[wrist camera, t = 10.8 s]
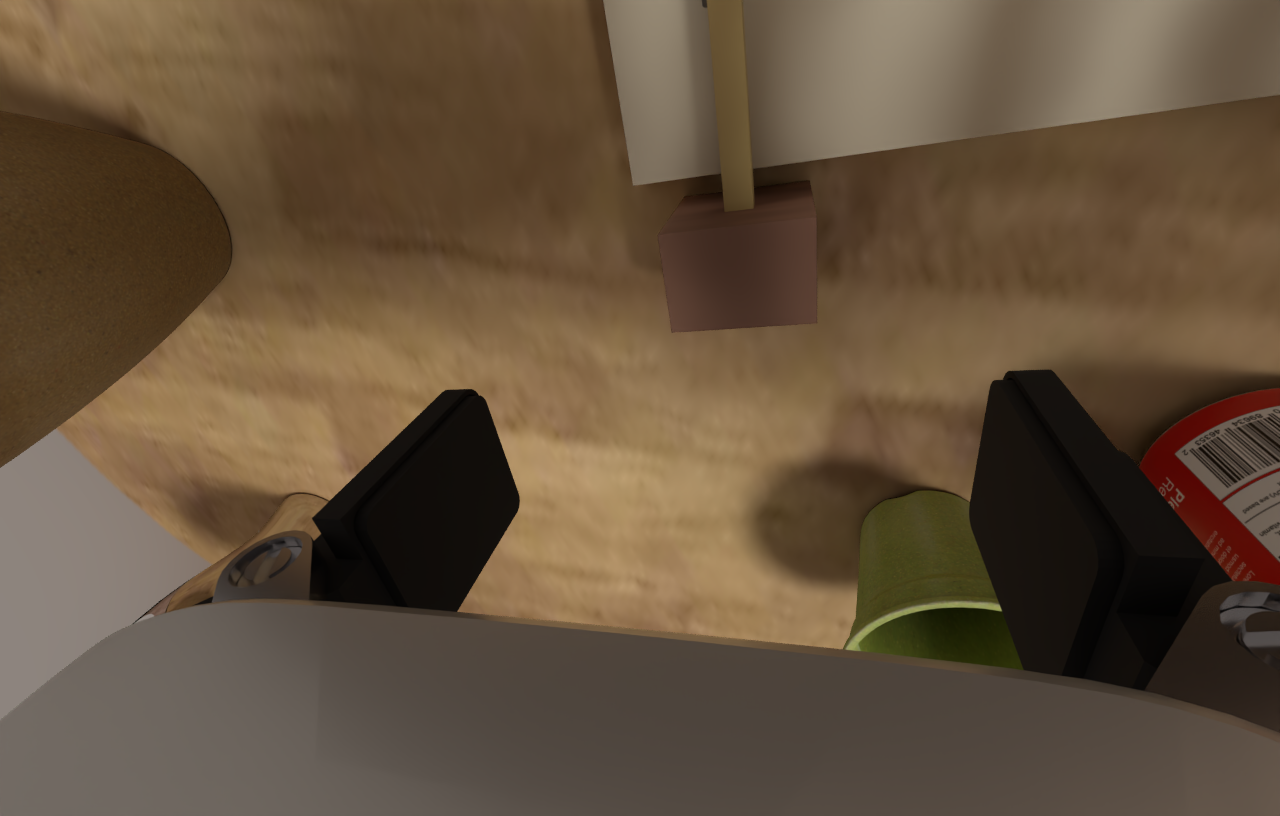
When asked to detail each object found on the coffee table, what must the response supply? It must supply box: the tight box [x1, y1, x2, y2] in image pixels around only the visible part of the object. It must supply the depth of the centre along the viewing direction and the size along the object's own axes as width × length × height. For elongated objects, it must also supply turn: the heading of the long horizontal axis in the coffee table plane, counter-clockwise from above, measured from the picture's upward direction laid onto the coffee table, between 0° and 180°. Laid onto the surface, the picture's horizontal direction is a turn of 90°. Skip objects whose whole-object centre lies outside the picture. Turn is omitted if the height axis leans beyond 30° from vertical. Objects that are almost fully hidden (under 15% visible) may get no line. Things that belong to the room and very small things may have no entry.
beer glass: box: [132, 494, 328, 625], centre depth 35 cm, size 7×7×15 cm
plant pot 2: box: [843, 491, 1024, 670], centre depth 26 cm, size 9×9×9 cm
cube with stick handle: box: [658, 0, 817, 333], centre depth 19 cm, size 5×11×6 cm, turn 10°
